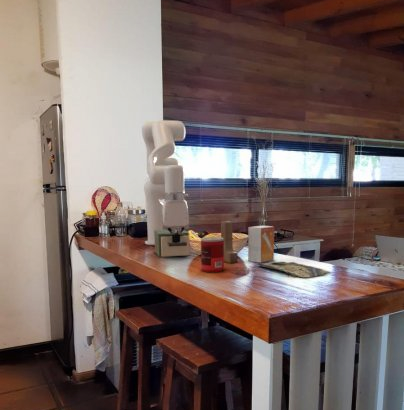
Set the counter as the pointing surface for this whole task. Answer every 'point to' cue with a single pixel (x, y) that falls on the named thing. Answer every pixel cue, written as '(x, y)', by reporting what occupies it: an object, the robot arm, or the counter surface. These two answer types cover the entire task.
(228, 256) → the wooden block
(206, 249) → the canned food
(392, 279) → the counter surface
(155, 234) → the cabinet
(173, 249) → the drawer
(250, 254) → the small box
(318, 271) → the aerial photo print
